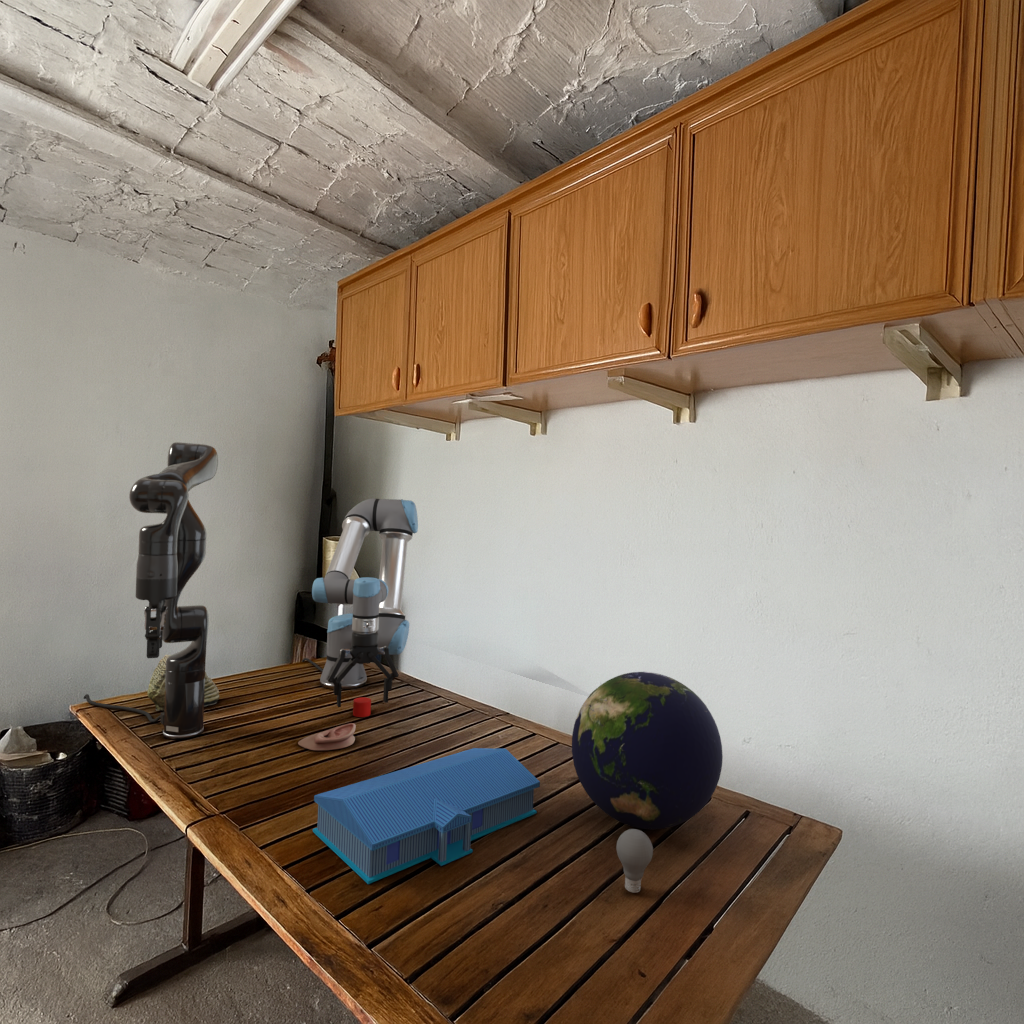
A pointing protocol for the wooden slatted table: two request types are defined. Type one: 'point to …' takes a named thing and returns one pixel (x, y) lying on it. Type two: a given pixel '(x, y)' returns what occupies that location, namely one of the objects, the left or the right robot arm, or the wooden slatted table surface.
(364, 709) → the tin
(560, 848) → the wooden slatted table surface
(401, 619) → the right robot arm
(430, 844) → the model building
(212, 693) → the fossil
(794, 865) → the wooden slatted table surface
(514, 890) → the wooden slatted table surface
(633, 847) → the light bulb
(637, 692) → the globe
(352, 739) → the anatomical model
